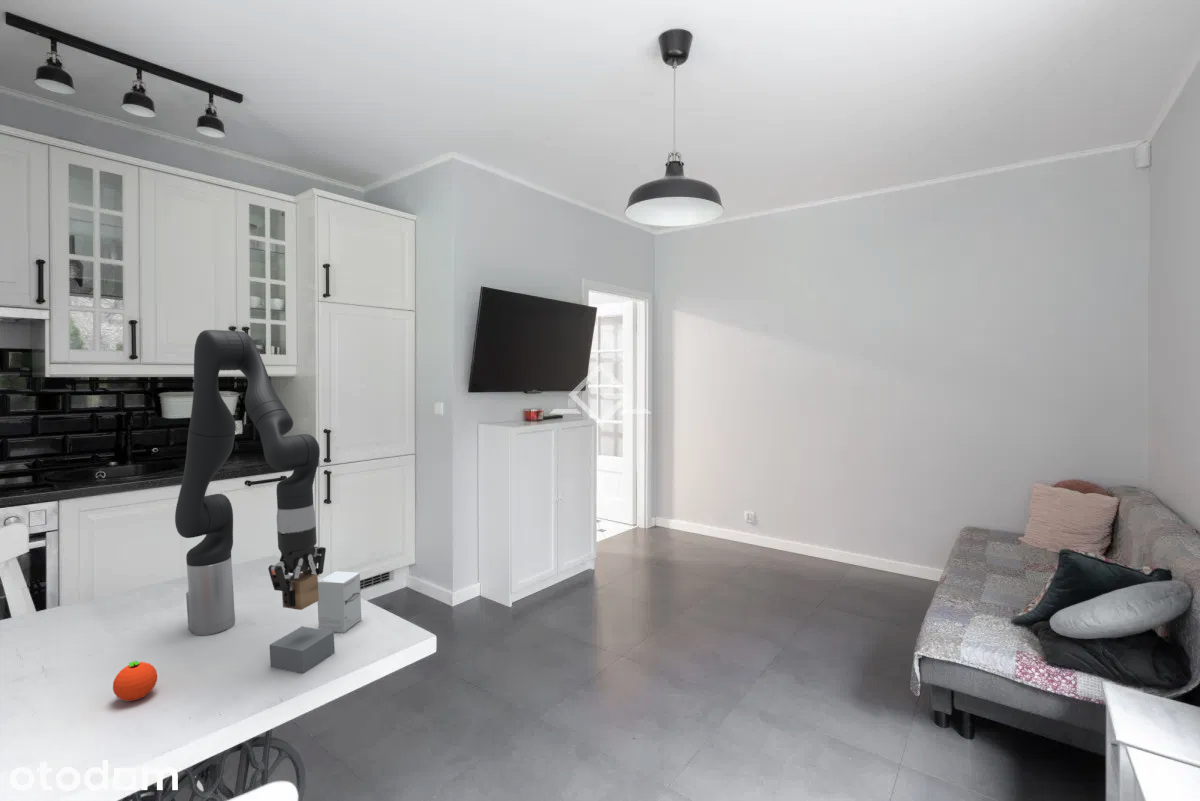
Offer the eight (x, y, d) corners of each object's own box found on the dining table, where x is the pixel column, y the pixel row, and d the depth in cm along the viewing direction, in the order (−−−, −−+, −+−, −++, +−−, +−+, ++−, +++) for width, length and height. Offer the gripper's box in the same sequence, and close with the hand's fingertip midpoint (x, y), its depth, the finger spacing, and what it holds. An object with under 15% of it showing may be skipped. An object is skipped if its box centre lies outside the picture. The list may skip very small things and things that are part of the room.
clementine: (110, 696, 115) (107, 662, 115) (153, 682, 121) (150, 649, 120) (117, 713, 110) (114, 677, 110) (162, 697, 115) (159, 662, 115)
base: (270, 666, 126) (269, 644, 126) (303, 647, 135) (302, 626, 134) (303, 673, 123) (302, 650, 123) (334, 652, 132) (333, 631, 132)
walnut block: (282, 607, 126) (281, 580, 126) (301, 598, 131) (299, 572, 131) (301, 609, 125) (299, 582, 125) (318, 600, 130) (317, 574, 129)
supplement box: (344, 633, 141) (342, 583, 140) (317, 631, 143) (315, 581, 142) (362, 620, 148) (360, 572, 147) (337, 617, 150) (334, 570, 149)
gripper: (308, 516, 135) (312, 587, 136) (255, 534, 121) (259, 613, 122) (334, 518, 132) (338, 590, 134) (283, 537, 119) (287, 617, 120)
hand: (300, 600), depth 128 cm, fingers closed on walnut block, 5 cm apart
